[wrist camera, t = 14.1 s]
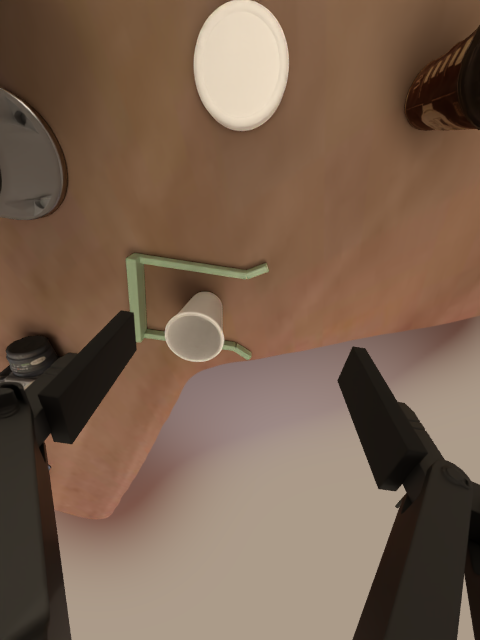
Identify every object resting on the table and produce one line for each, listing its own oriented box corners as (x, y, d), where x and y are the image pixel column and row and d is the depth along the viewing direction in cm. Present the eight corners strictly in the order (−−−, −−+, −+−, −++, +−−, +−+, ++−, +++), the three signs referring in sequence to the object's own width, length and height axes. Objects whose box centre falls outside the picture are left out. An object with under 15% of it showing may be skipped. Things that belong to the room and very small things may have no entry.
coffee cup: (465, 136, 31) (582, 115, 20) (391, 151, 32) (462, 140, 21) (485, 35, 27) (648, -63, 16) (399, 57, 28) (494, -20, 17)
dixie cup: (174, 313, 46) (155, 346, 37) (195, 274, 42) (178, 301, 33) (216, 334, 48) (206, 371, 39) (239, 299, 44) (234, 331, 35)
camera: (84, 335, 49) (47, 370, 41) (96, 376, 55) (66, 415, 46) (4, 329, 50) (-49, 362, 41) (24, 370, 55) (-20, 407, 46)
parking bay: (139, 339, 49) (133, 348, 47) (133, 242, 40) (124, 247, 37) (250, 355, 49) (250, 366, 47) (269, 263, 40) (270, 269, 38)
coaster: (202, 132, 32) (196, 128, 29) (195, 16, 28) (187, -3, 24) (282, 131, 32) (285, 127, 29) (290, 13, 27) (294, -7, 24)
